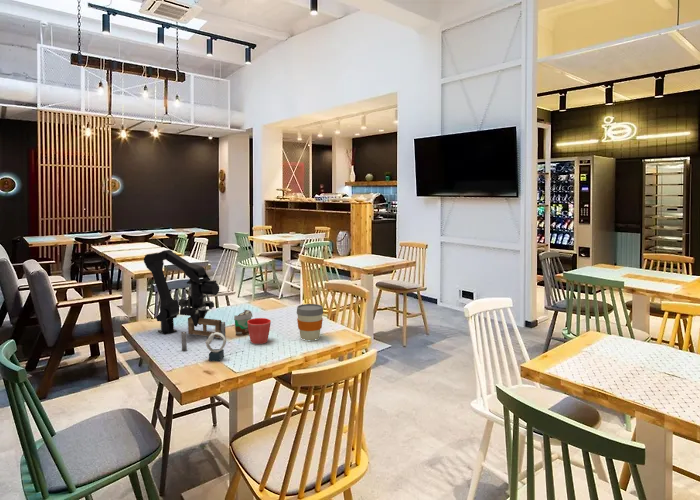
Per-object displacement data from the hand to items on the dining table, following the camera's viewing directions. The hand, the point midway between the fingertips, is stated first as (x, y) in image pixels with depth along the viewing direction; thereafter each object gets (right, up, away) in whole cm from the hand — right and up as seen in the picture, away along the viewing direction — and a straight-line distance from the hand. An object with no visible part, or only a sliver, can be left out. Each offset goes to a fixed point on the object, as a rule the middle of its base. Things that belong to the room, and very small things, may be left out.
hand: (197, 325), depth 218 cm
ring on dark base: (+17, -9, -29) cm, 35 cm away
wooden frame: (+4, -5, -1) cm, 6 cm away
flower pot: (+31, -6, -6) cm, 32 cm away
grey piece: (+7, -7, -12) cm, 15 cm away
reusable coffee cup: (+53, -6, 0) cm, 54 cm away
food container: (+21, -5, +6) cm, 23 cm away
